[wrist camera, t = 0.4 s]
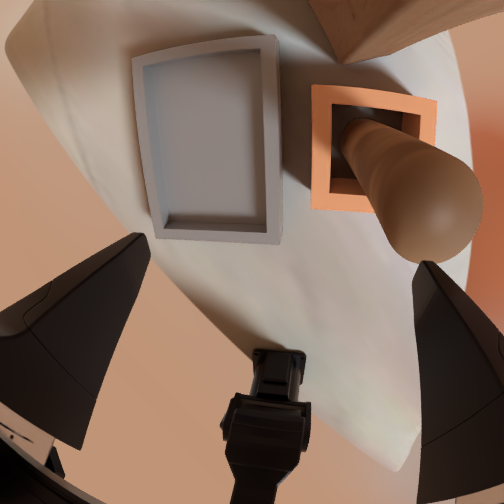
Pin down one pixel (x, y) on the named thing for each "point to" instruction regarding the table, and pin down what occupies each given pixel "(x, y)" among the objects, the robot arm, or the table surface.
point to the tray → (212, 139)
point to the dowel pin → (414, 190)
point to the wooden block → (391, 23)
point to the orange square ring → (323, 96)
